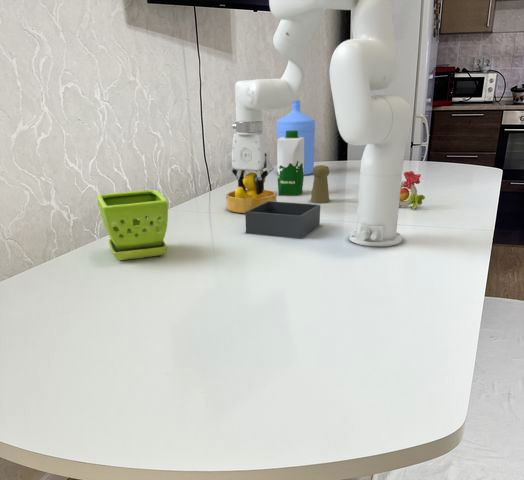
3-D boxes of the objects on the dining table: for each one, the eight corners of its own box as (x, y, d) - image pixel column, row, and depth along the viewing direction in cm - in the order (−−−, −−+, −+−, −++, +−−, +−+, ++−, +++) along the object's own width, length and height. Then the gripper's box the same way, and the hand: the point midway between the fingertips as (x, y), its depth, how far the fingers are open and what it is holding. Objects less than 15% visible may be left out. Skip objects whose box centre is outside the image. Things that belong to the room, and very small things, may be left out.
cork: (307, 202, 169) (308, 166, 164) (315, 198, 174) (315, 163, 169) (325, 203, 166) (326, 167, 161) (332, 200, 171) (333, 164, 166)
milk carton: (304, 191, 185) (306, 130, 176) (300, 196, 178) (301, 132, 169) (280, 190, 187) (280, 130, 178) (275, 195, 180) (274, 132, 170)
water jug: (320, 171, 225) (322, 99, 212) (302, 177, 213) (304, 101, 201) (288, 169, 233) (288, 99, 220) (270, 174, 221) (269, 101, 208)
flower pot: (104, 248, 125) (95, 193, 119) (162, 242, 129) (157, 189, 123) (111, 265, 113) (101, 205, 107) (174, 257, 117) (169, 199, 112)
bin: (300, 238, 130) (301, 216, 127) (245, 233, 135) (245, 211, 133) (319, 225, 141) (320, 204, 139) (268, 221, 147) (267, 201, 144)
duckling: (260, 203, 167) (259, 170, 162) (271, 205, 163) (270, 171, 158) (232, 208, 160) (229, 174, 156) (242, 210, 156) (240, 175, 152)
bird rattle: (396, 216, 158) (425, 206, 153) (384, 180, 155) (414, 168, 150) (400, 212, 163) (429, 202, 158) (389, 177, 160) (418, 166, 155)
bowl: (263, 215, 153) (263, 200, 150) (218, 212, 158) (217, 196, 156) (283, 205, 165) (283, 190, 163) (240, 202, 171) (240, 188, 169)
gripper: (217, 128, 151) (220, 193, 160) (271, 129, 145) (271, 197, 153) (229, 126, 157) (232, 189, 166) (281, 127, 151) (281, 192, 159)
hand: (251, 192), depth 159 cm, fingers closed on duckling, 5 cm apart
